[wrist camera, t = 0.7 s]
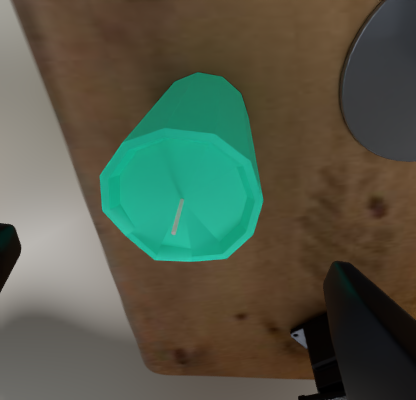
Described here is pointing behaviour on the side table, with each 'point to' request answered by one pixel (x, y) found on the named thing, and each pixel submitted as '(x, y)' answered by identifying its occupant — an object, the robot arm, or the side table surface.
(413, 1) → the slate coaster
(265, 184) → the side table surface
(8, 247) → the robot arm
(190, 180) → the candle
